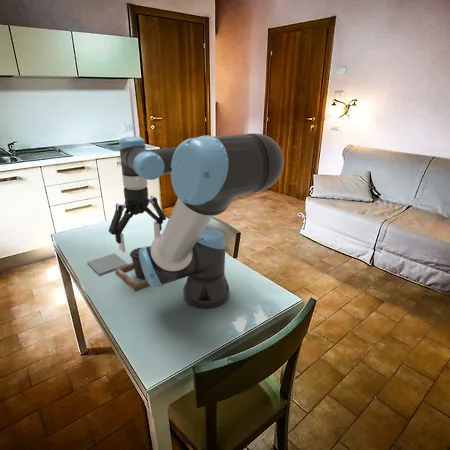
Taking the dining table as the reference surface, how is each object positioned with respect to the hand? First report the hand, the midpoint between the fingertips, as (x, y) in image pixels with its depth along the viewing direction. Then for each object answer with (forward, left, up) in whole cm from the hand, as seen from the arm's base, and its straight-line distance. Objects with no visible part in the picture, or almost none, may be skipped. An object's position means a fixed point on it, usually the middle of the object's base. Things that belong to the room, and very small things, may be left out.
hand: (140, 244), depth 111 cm
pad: (+15, +7, -12) cm, 20 cm away
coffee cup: (0, 0, -12) cm, 12 cm away
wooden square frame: (0, 0, -12) cm, 12 cm away
